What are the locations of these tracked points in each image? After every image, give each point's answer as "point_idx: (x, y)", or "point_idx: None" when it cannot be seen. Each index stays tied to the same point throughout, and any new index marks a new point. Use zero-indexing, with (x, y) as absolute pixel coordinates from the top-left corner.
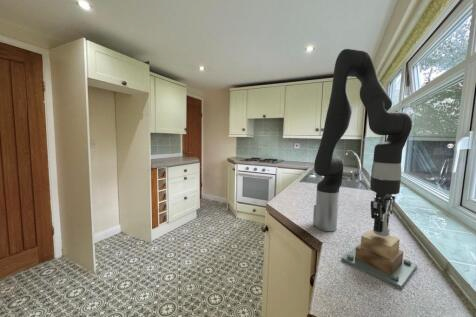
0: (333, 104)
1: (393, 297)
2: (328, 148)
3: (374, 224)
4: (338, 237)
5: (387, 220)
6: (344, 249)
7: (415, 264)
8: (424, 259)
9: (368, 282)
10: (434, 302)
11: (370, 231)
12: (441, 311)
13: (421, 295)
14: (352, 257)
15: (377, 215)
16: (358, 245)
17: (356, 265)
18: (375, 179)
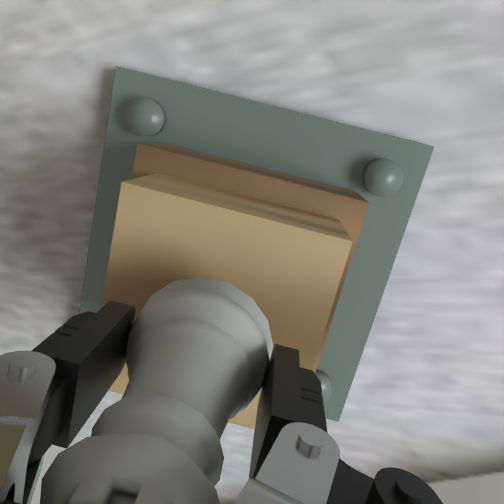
0: None
1: (3, 319)
2: None
3: (84, 327)
4: None
5: (252, 462)
6: (285, 52)
7: (334, 415)
8: (464, 450)
9: (26, 228)
10: (90, 435)
11: (297, 238)
12: (53, 446)
13: (101, 404)
14: (133, 130)
15: (134, 403)
16: (180, 154)
17: (102, 161)
18: None
